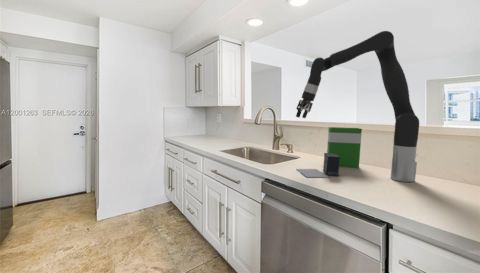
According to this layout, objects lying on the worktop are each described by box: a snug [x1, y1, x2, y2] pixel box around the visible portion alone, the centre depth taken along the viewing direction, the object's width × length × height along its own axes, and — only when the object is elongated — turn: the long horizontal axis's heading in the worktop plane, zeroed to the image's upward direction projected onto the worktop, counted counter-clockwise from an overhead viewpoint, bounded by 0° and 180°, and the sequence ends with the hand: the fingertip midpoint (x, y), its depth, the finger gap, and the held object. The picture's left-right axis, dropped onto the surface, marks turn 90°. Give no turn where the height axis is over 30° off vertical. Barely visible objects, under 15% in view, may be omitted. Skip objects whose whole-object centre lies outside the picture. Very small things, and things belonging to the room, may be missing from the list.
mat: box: [296, 168, 331, 179], centre depth 121 cm, size 12×16×1 cm
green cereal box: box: [326, 126, 363, 169], centre depth 140 cm, size 18×7×24 cm, turn 76°
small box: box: [322, 152, 340, 177], centre depth 121 cm, size 11×6×10 cm, turn 168°
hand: (300, 117), depth 139 cm, fingers open, 8 cm apart
